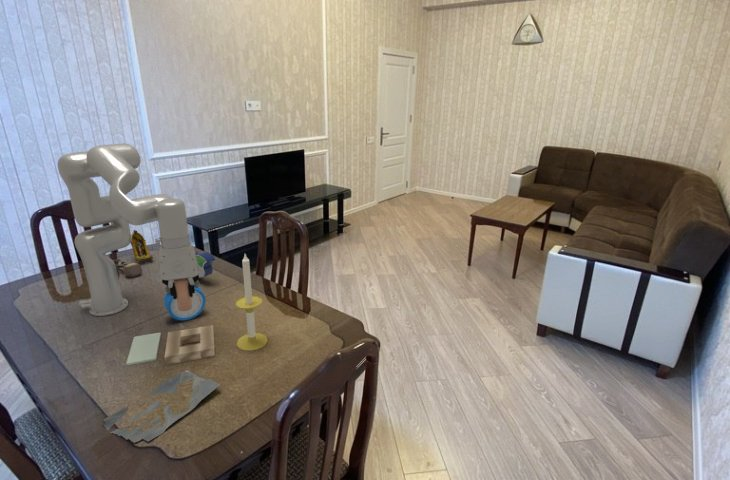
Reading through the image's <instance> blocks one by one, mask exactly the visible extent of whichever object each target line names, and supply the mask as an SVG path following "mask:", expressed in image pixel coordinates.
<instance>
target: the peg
mask: <svg viewBox="0 0 730 480" xmlns="http://www.w3.org/2000/svg"><path fill="white" fill-rule="evenodd" d="M173 282H174V285H175V291H176V297H177V304H178V310H179V311H188V310H190V309H191V308H192V302H191V297H190V293H189V280H188V278H184V279H175V280H173Z"/></svg>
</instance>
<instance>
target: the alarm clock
mask: <svg viewBox="0 0 730 480" xmlns="http://www.w3.org/2000/svg"><path fill="white" fill-rule="evenodd" d="M173 283H174V281H173ZM194 288H195V293H193V297H191V302H192V308H191V309H190V310H188V311H179V310H178V304H177V298H176V299H174V298H173V296H171V293H170V288H169V287H168V286H167V285H165V292H166V293H165V294H164V297H163V305H164V308H165V309H166V310H167V312H168V314H169V315H170V316H171V317H172V318H173V319H175V320H177V321H178V323H180V322H181V321H189V320H192V319H194V318H196V317H200V314H201V313H202V311H204V308H205V306H206V300H207V299H206V295H205V293H204V291H203V290H201V288H200V281H199V279H198V280H197V281H196V282H195V283H194Z"/></svg>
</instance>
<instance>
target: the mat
mask: <svg viewBox="0 0 730 480" xmlns="http://www.w3.org/2000/svg"><path fill="white" fill-rule="evenodd" d="M161 336H162V333H161V332H156V333H155V332H154V333H148V334H141V335H136V336H134V337H133V339H132V343H131V345H130V349H129V353H128V357H127V360H126V363H125V364H126V367H128V366H133V365H140V364H144V363H149V362H150V363H151V362H155V361H157V358H158V352H159V346H160V341H161Z"/></svg>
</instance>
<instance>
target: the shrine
mask: <svg viewBox="0 0 730 480" xmlns="http://www.w3.org/2000/svg"><path fill="white" fill-rule="evenodd" d="M130 245H131V248H132V252H133V254H134V256H135V257H134V258H135V262H138V261H139V262H140V261H147V260H152V259H154V256H153V255H152V254H150V253H149V250H148V247H147V243H146V239H145V238H144V235H142V234H141V233H140V232H138V230H135V229H133V232H132V233H131V242H130Z"/></svg>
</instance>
